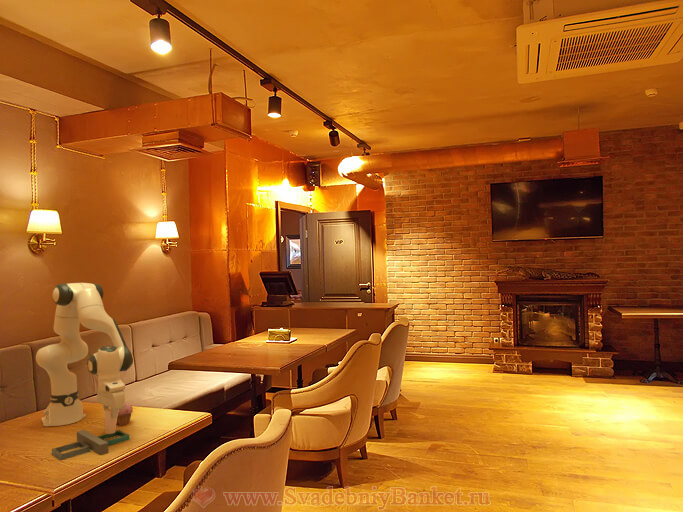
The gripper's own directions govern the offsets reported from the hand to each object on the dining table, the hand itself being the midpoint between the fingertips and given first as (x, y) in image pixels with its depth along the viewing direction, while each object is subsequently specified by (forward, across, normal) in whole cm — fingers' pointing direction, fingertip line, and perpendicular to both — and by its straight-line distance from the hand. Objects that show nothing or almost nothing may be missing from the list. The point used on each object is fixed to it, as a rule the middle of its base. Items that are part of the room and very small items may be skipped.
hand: (110, 416), depth 208 cm
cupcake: (+11, -19, +13) cm, 25 cm away
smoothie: (+7, 0, -1) cm, 7 cm away
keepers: (+10, 0, -8) cm, 13 cm away
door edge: (+10, 0, -8) cm, 13 cm away
